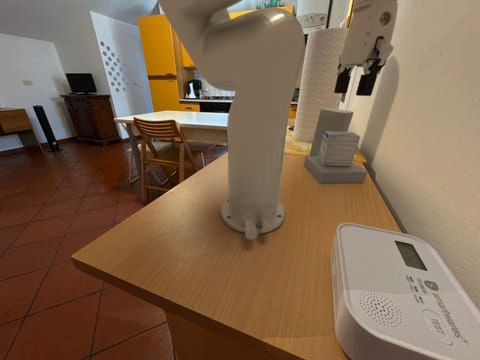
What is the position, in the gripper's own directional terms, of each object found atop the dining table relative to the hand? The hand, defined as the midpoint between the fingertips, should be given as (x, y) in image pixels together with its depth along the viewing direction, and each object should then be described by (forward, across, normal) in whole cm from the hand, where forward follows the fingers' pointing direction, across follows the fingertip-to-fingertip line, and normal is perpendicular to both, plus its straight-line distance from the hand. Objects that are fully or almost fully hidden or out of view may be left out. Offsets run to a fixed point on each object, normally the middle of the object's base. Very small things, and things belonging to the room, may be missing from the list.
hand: (350, 94), depth 46 cm
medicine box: (+18, 0, 0) cm, 18 cm away
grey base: (+21, 0, -1) cm, 21 cm away
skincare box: (+21, +14, -5) cm, 26 cm away
